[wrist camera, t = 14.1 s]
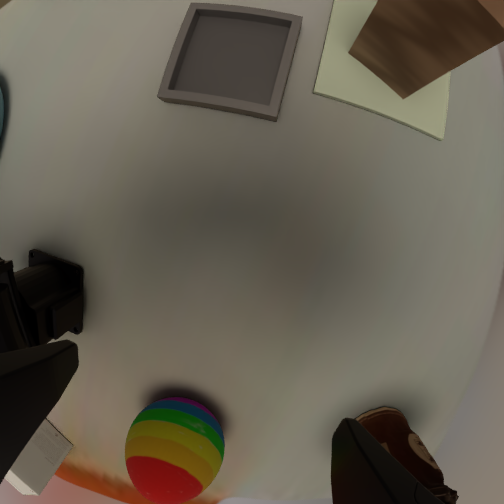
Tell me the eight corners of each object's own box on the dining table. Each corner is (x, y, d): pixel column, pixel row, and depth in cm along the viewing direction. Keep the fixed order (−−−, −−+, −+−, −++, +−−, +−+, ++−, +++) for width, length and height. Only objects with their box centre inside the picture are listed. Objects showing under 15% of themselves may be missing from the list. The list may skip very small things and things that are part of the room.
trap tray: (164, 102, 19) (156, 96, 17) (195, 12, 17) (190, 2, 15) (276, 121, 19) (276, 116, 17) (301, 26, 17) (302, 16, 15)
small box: (44, 415, 27) (3, 463, 17) (74, 445, 28) (39, 496, 18) (28, 427, 29) (-7, 467, 19) (54, 453, 30) (23, 496, 19)
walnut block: (347, 53, 17) (409, -54, 5) (382, 17, 15) (447, -76, 4) (403, 99, 17) (511, 36, 5) (433, 61, 16) (528, -4, 4)
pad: (312, 93, 18) (313, 91, 17) (335, -9, 16) (336, -12, 15) (439, 140, 18) (443, 140, 17) (448, 38, 15) (451, 35, 15)
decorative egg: (196, 373, 23) (160, 464, 13) (246, 434, 24) (234, 521, 15) (129, 396, 25) (83, 469, 15) (178, 450, 26) (152, 523, 16)
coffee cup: (417, 384, 22) (477, 489, 9) (416, 437, 24) (454, 528, 11) (327, 414, 23) (347, 539, 11) (338, 462, 25) (354, 563, 12)
